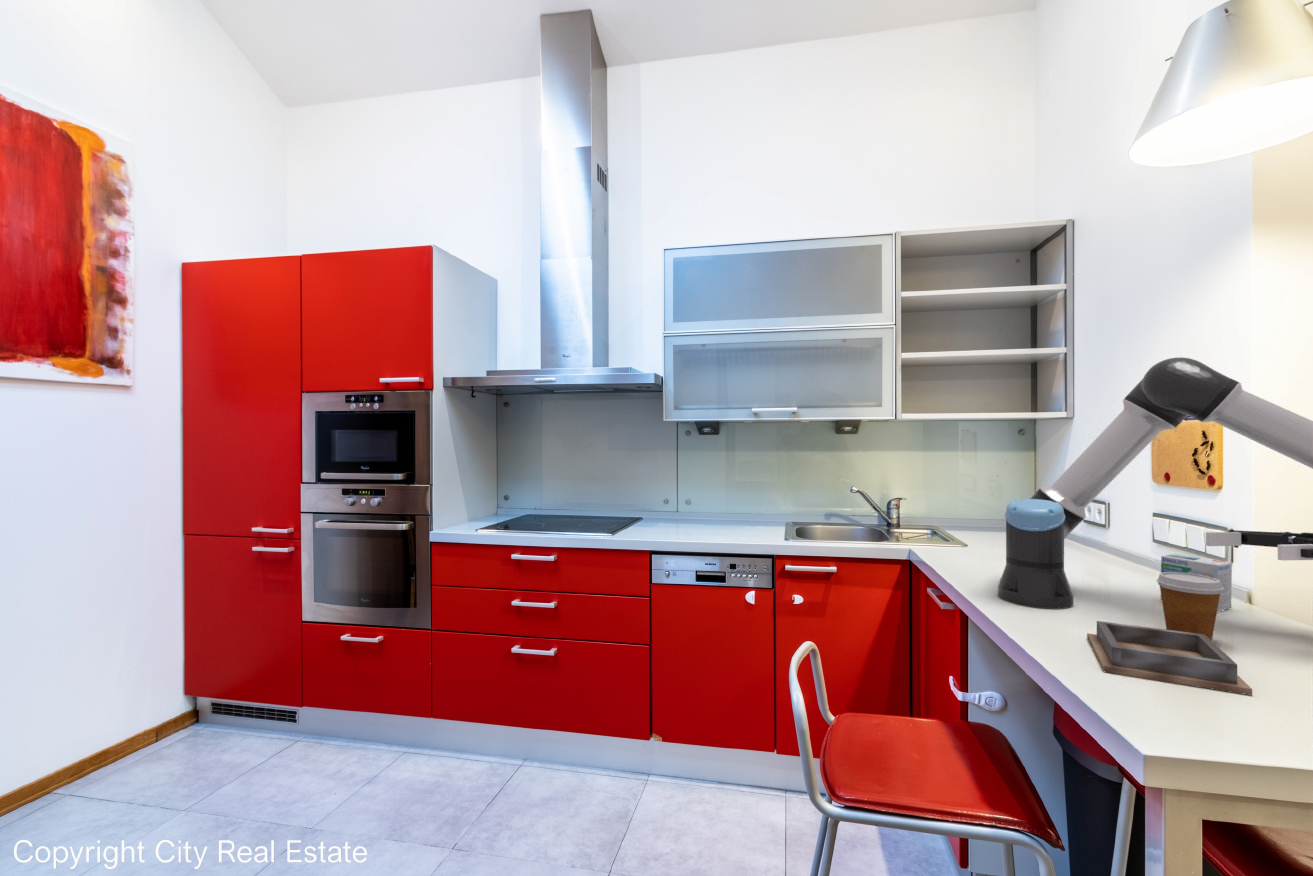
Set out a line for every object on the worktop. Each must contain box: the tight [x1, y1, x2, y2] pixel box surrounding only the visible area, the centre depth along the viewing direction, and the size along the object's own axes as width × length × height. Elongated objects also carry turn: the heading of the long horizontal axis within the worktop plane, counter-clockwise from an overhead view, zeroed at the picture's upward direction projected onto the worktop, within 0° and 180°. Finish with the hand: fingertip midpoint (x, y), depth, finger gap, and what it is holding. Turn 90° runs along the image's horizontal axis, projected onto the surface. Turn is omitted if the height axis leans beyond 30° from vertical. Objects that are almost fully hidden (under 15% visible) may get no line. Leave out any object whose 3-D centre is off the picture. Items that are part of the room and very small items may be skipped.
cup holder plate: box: [1086, 620, 1253, 696], centre depth 100 cm, size 18×18×4 cm
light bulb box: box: [1160, 553, 1233, 613], centre depth 133 cm, size 11×7×11 cm, turn 25°
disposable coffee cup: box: [1156, 572, 1224, 642], centre depth 111 cm, size 10×10×12 cm
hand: (1241, 545), depth 111 cm, fingers open, 13 cm apart
